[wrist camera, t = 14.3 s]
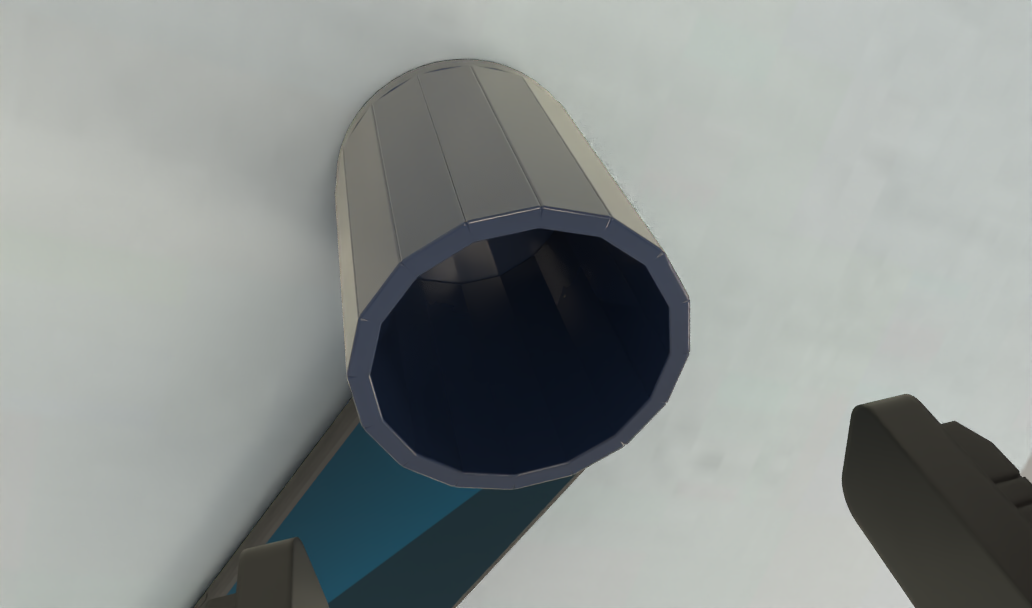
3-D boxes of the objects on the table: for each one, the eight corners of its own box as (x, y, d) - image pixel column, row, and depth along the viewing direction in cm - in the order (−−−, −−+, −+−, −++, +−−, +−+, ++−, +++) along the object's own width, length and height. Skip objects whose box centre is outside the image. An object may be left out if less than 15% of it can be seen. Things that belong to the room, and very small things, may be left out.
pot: (568, 35, 19) (691, 174, 13) (586, 256, 23) (690, 447, 16) (306, 85, 19) (308, 255, 12) (367, 304, 22) (390, 520, 16)
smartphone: (601, 428, 26) (610, 449, 25) (349, 702, 31) (350, 725, 31) (394, 333, 22) (397, 354, 22) (149, 660, 28) (144, 686, 27)
